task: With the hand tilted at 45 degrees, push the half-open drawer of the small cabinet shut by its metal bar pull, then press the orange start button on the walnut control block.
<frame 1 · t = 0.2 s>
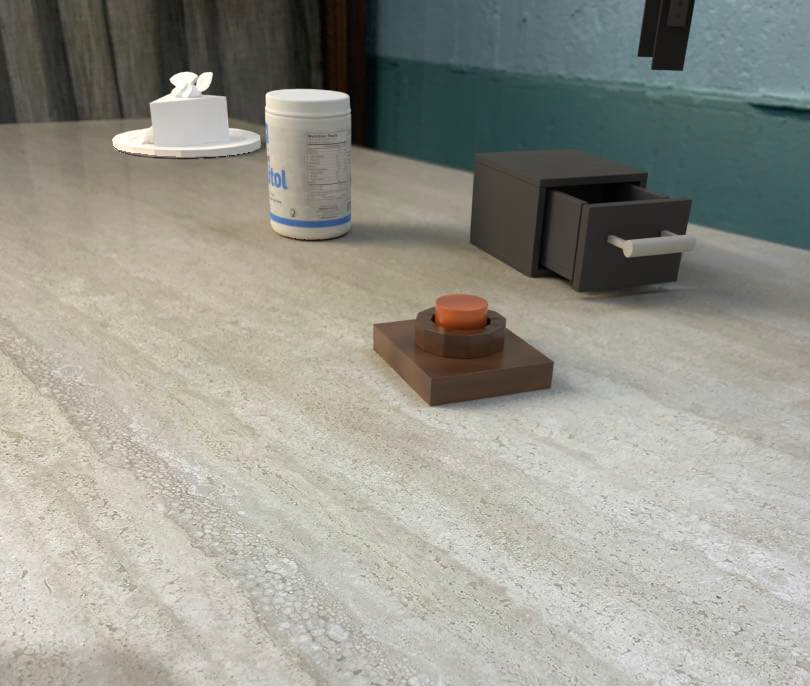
hand: (658, 63, 82), 19 cm above the table, tool pointing down, fingers open, 13 cm apart
start button: (461, 313, 66), point 4 cm above the table, slide at 0.1 cm
supplement tub: (312, 233, 103), on the table
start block: (458, 368, 69), on the table
small cabinet: (548, 254, 97), on the table
drawer: (608, 234, 86), point 5 cm above the table, slide at 7.0 cm
white cake on plate: (188, 146, 150), on the table
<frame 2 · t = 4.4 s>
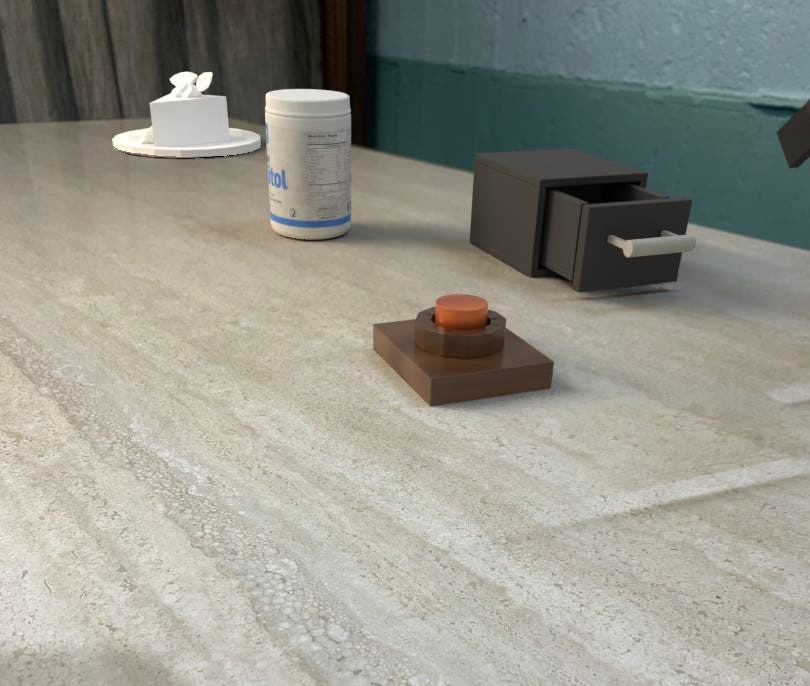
nothing on the table moved.
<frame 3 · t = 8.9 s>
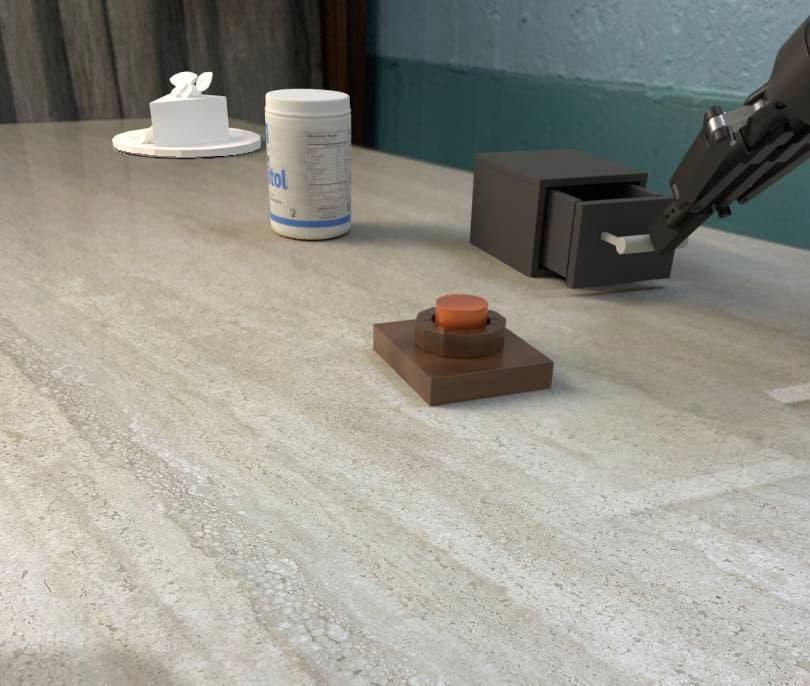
hand: (658, 241, 79), 6 cm above the table, tool tilted 45°, fingers closed
drawer: (602, 231, 87), point 5 cm above the table, slide at 5.9 cm, touching gripper
everything else where it was.
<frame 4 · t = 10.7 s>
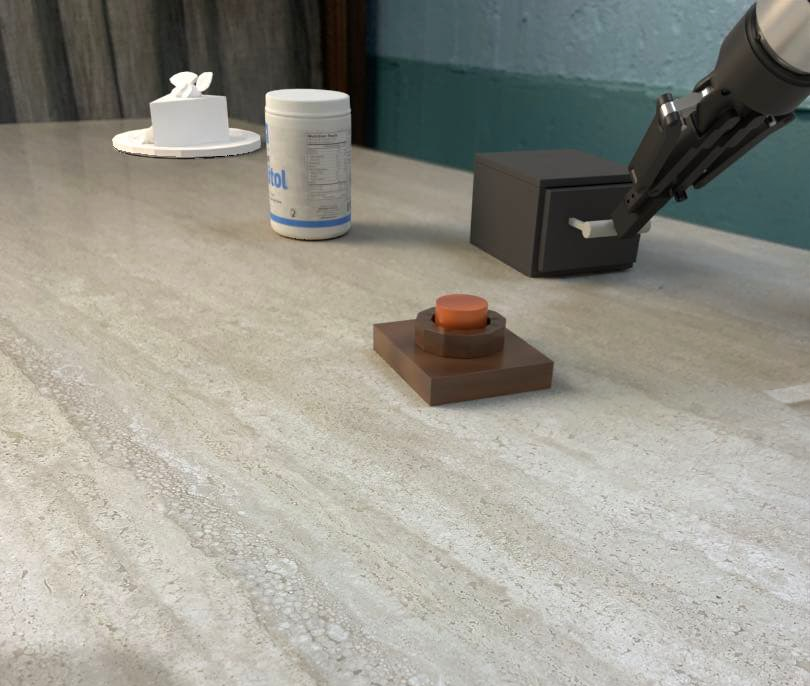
hand: (621, 226, 83), 6 cm above the table, tool tilted 45°, fingers closed
drawer: (571, 218, 91), point 5 cm above the table, slide at 0.0 cm, touching small cabinet, gripper
everything else where it was.
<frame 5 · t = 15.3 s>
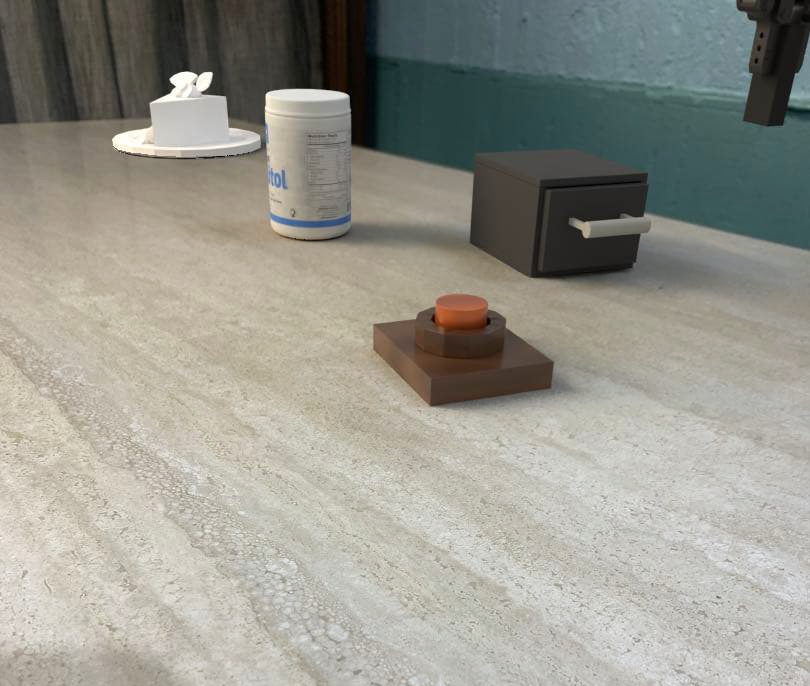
hand: (762, 122, 66), 17 cm above the table, tool pointing down, fingers closed
drawer: (571, 218, 91), point 5 cm above the table, slide at 0.0 cm, touching small cabinet
everything else where it was.
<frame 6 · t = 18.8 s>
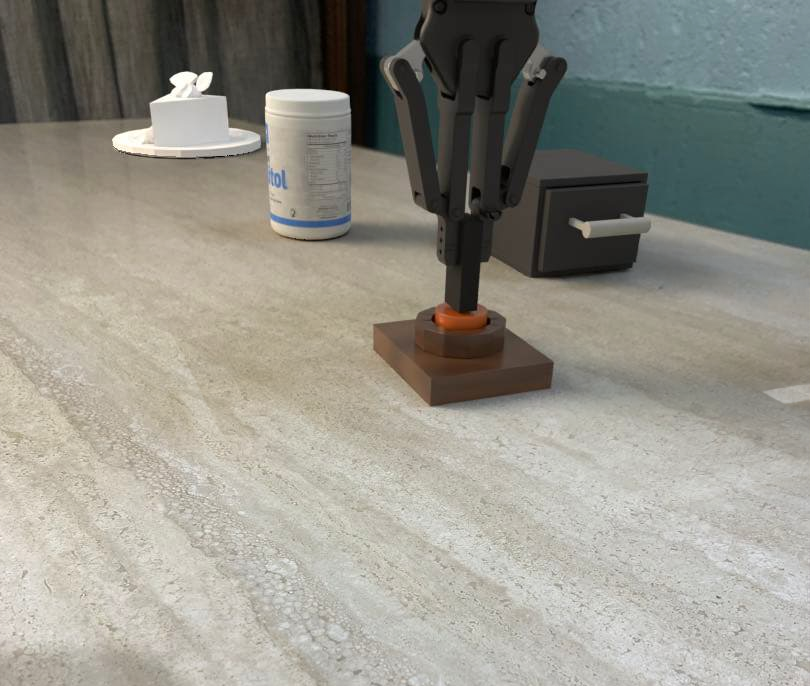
hand: (460, 305, 66), 5 cm above the table, tool pointing down, fingers closed
start button: (460, 320, 67), point 4 cm above the table, slide at -0.5 cm, touching gripper
everything else where it was.
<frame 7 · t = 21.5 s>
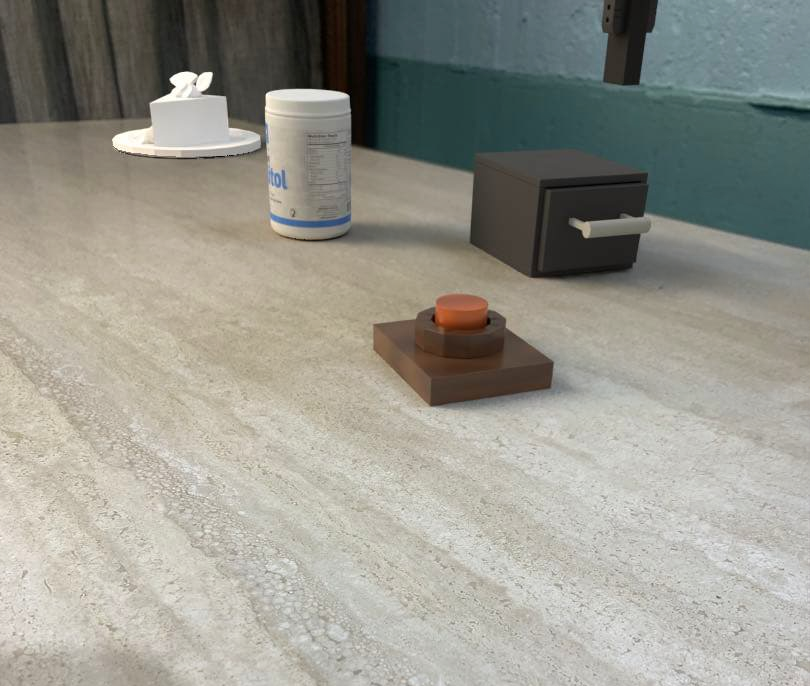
hand: (620, 83, 67), 19 cm above the table, tool pointing down, fingers closed
start button: (461, 313, 66), point 4 cm above the table, slide at 0.1 cm
everything else where it was.
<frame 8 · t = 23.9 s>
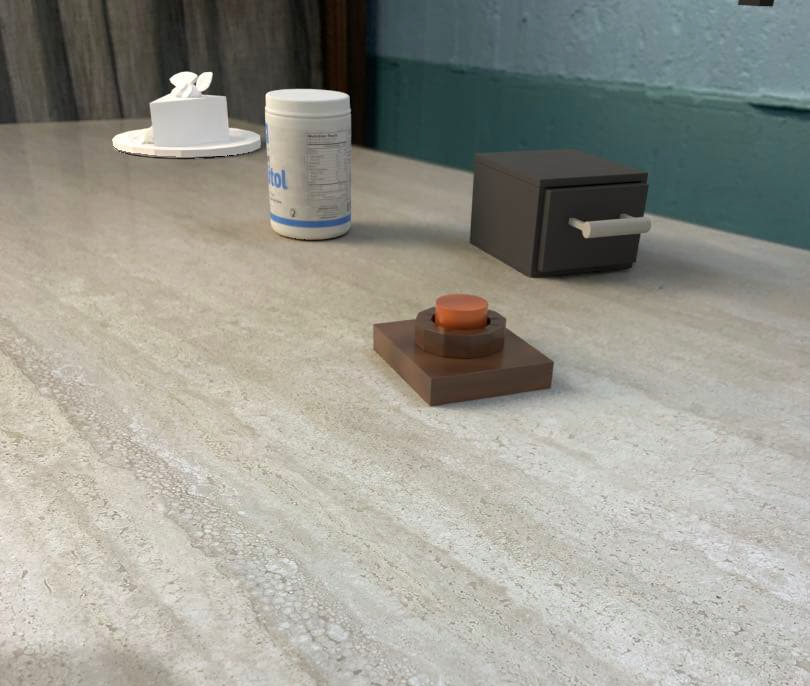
hand: (755, 5, 74), 24 cm above the table, tool pointing down, fingers closed
nothing on the table moved.
at the end: drawer slide at 0.0 cm; start button pushed in 1.0 cm at the most during the clip, back to where it started at the end; start button slide at 0.1 cm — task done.
